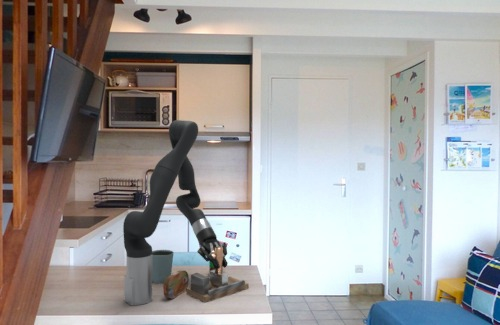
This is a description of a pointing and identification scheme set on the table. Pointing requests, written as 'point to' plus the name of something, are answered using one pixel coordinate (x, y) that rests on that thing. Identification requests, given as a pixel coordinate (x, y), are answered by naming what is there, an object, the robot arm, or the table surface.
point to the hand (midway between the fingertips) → (222, 267)
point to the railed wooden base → (213, 287)
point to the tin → (175, 284)
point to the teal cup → (161, 265)
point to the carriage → (219, 270)
